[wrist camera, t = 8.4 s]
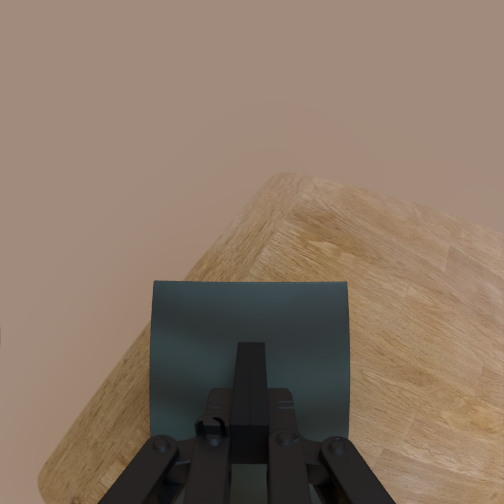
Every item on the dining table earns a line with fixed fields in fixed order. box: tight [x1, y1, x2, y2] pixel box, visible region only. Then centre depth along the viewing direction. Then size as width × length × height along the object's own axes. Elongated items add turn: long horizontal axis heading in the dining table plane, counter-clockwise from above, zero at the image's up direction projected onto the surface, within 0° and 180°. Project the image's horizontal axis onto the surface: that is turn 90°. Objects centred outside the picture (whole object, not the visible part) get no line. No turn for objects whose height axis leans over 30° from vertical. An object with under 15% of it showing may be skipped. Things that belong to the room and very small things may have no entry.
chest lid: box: [150, 281, 350, 504], centre depth 17 cm, size 16×13×1 cm
